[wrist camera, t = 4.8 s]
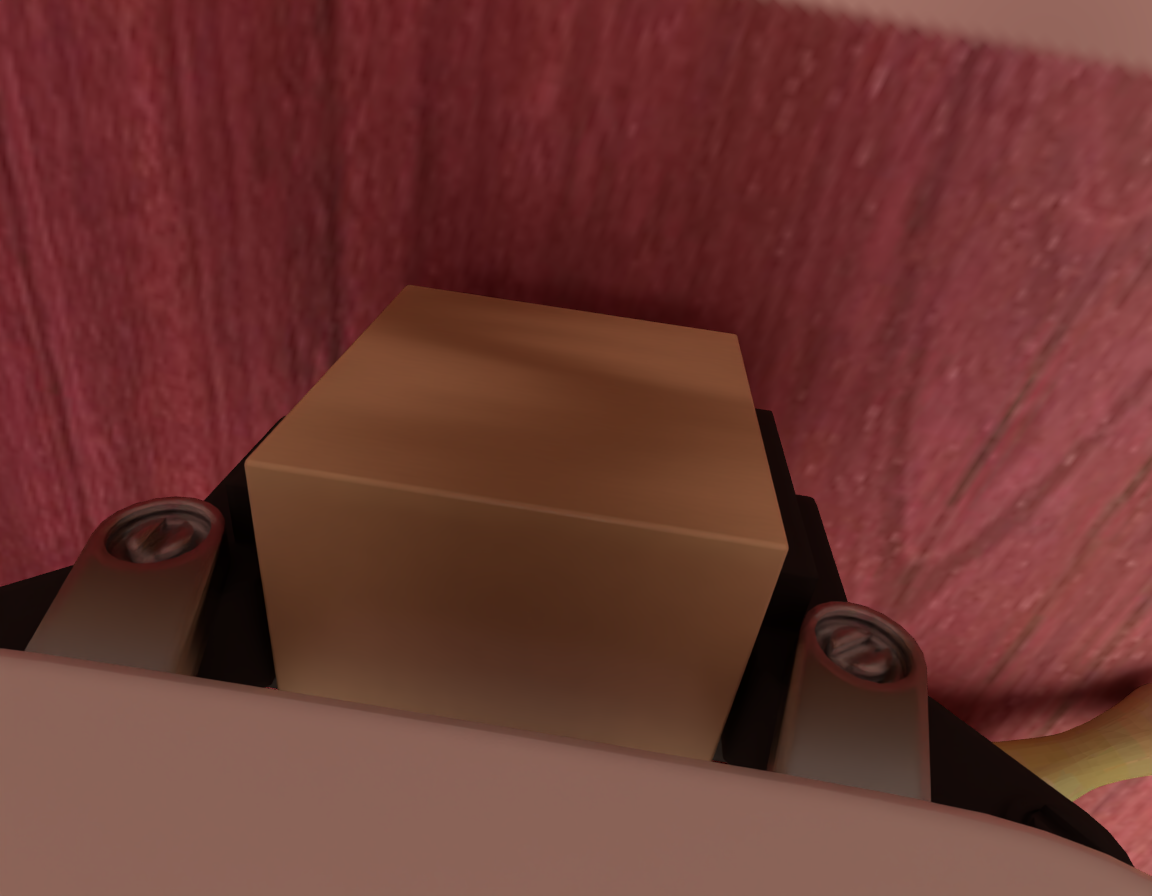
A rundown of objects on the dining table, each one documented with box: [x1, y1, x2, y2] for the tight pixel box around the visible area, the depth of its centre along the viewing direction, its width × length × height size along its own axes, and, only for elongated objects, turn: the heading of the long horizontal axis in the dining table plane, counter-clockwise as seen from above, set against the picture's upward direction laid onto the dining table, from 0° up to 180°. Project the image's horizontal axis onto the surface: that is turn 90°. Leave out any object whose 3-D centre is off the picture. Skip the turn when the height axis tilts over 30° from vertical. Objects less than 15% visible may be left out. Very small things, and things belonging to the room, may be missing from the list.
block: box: [244, 285, 789, 762], centre depth 10 cm, size 5×5×5 cm
